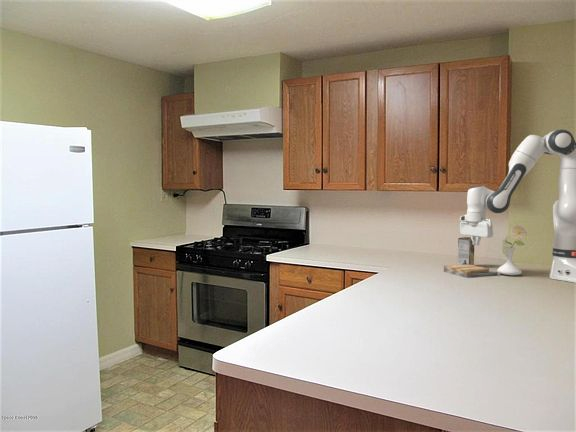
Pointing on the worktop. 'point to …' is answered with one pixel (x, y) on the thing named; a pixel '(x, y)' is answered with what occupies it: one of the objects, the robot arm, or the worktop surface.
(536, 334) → the worktop surface
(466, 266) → the light wood flat slab
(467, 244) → the coffee box
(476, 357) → the worktop surface
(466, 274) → the underlay panel
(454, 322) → the worktop surface
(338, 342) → the worktop surface
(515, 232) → the flower in vase
